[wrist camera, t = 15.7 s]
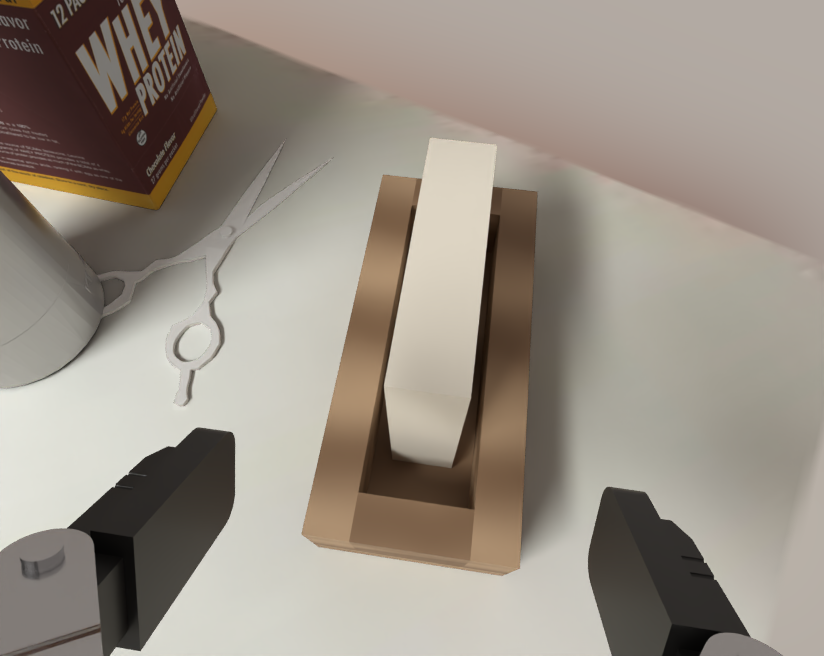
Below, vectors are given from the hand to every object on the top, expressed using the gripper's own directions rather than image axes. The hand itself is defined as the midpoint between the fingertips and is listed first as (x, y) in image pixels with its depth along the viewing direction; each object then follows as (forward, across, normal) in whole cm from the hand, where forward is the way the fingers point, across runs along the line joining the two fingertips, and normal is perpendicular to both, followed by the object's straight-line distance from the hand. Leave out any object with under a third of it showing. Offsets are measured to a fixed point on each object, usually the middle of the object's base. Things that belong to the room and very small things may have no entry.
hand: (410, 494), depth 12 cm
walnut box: (+19, 0, +5) cm, 19 cm away
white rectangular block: (+18, 0, +4) cm, 19 cm away
